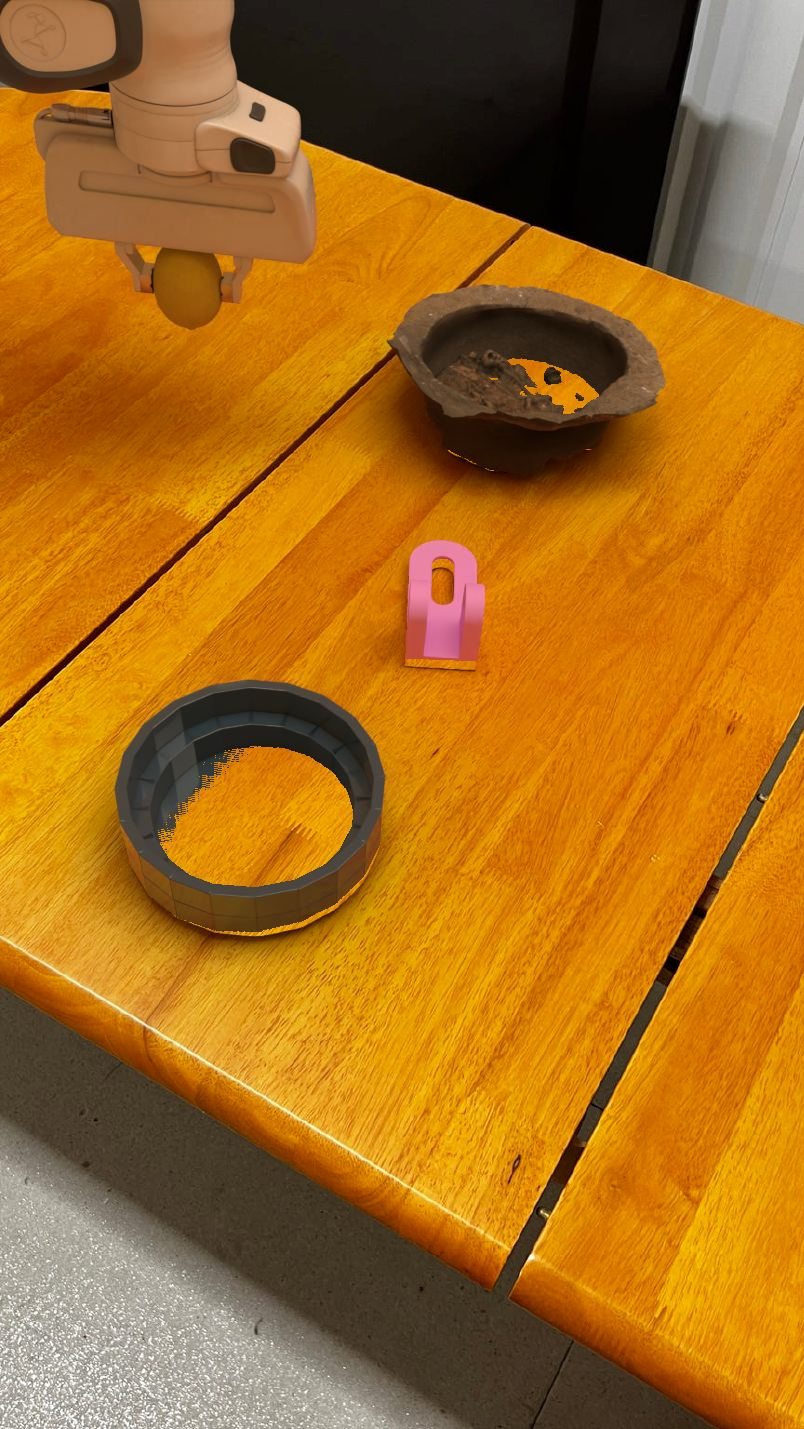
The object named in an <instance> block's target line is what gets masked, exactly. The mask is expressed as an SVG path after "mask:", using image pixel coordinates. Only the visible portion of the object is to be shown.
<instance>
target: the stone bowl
mask: <svg viewBox="0 0 804 1429" xmlns="http://www.w3.org/2000/svg"><path fill="white" fill-rule="evenodd" d="M392 335H393V338H392V339H386V340H385V342H386V343H387V344H388V346H389V347H390V349H391V350H392V351H393V353H395V355H396V356H397V358H398V360H399V362H400V363H401V364H402V367H403V368H404V370H405V372H406V373H407V374H408V376H409V377H410V378H411V379H412V381H413V383H414V384H415V385H416V387H417V388H418V390H419V391H420V392H421V393H423V399H424V403H425V410H426V414H427V417H428V418H429V420H430V422H432V424H433V425H434V428H436V430H437V431H438V433H440V436H441V439H442V446H443V448H444V447H445V448H446V449H447V450H450V451H451V452H453V453H455V454H457V455H459V456H461V457H463V458H466V459H468V460H469V461H472V462H473V463H476V464H477V465H476V466H478V465H479V466H480V467H479V466H478V467H479V468H481V467H483V468H487V469H489V470H494V471H496V472H502V471H503V472H505V473H509V474H513V475H521V476H525V475H530V474H536V473H539V472H541V471H542V469H543V468H544V466H545V464H546V463H547V462H548V461H549V460H556V461H567V460H569V459H570V458H572V457H573V456H577V455H579V454H581V453H582V452H584V451H586V450H585V449H593V450H595V449H596V448H597V447H598V446H600V444H601V442H602V441H603V438H604V436H605V434H606V433H607V430H608V428H609V426H610V424H611V421H612V420H615V419H622V418H624V417H627V416H630V415H633V414H637V413H640V412H641V411H644V410H646V409H649V408H651V407H653V406H655V405H657V404H658V403H659V402H658V401H657V400H656V399H657V398H658V397H660V394H658V393H659V392H660V391H661V390H663V389H665V387H666V378H665V375H664V371H663V370H664V369H663V368H662V366H663V365H662V364H661V363H660V361H659V357H658V349H657V348H656V347H655V346H654V345H653V343H652V342H651V340H649V339H647V337H646V335H645V334H644V333H643V331H641V330H640V329H638V328H637V326H636V324H634V323H633V322H632V321H631V320H628V319H626V318H623V317H621V316H619V315H615V314H614V313H613V311H610V310H608V309H606V308H604V307H602V306H599V305H597V304H594V303H590V302H588V301H585V300H584V299H581V298H577V297H571V296H570V295H567V294H563V293H560V292H556V291H553V290H550V289H545V288H541V287H537V286H530V285H529V286H518V287H515V286H513V287H509V286H508V285H507V284H498V285H495V284H485V283H482V284H479V285H472V286H467V287H461V288H457V289H454V290H453V291H448V292H442V293H441V292H440V293H432V294H430V295H428V296H427V297H425V298H423V299H421V300H419V302H416V303H415V304H414V305H412V306H410V308H408V309H407V311H406V312H405V313H404V316H403V320H402V321H401V322H400V323H399V324H398V326H397V327H396V330H395V332H393V333H392ZM512 358H515V359H521V358H522V359H527V360H534V361H539V362H546V363H547V364H549V365H553V366H556V367H559V368H562V369H563V370H567V371H569V372H570V373H572V374H577V375H578V376H580V377H581V378H583V379H584V380H585V381H586V383H588V384H589V385H590V386H591V387H592V388H594V389H595V391H596V392H597V393H598V394H599V397H597V398H596V399H593V400H591V401H590V402H588V403H587V404H586V405H585V406H584V407H583V408H577V409H575V410H574V412H575V413H571V414H563V411H564V408H563V407H564V406H563V405H555V404H553V403H552V397H551V396H549V395H541V394H538V392H537V393H535V394H536V395H533V394H531V393H530V392H529V391H528V390H527V389H526V388H525V387H524V386H525V385H527V387H534V388H537V387H536V386H537V385H536V384H535V382H533V381H532V380H531V378H530V377H529V376H528V374H527V373H526V371H525V370H526V369H525V368H524V367H523V366H521V365H520V364H516V365H511V364H510V363H509V362H508V361H507V360H509V359H512ZM560 374H561V372H560V371H558V370H556V369H555V368H554V367H549V368H547V369H546V371H545V373H544V381H545V382H546V384H548V385H551V384H559V383H561V382H562V381H561V376H560ZM489 377H490V378H498V380H491V379H490V378H489ZM535 385H536V386H535ZM521 391H524V392H523V393H525V395H527V396H522V394H521V395H520V392H521ZM575 397H576V399H578V401H583V400H584V397H582V396H581V395H579V394H578V393H576V395H575ZM599 443H600V444H599ZM595 447H596V448H595ZM445 448H444V449H445ZM446 449H445V450H446ZM463 458H462V459H463ZM483 468H482V469H483Z"/></svg>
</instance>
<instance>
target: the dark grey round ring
mask: <svg viewBox="0 0 804 1429" xmlns="http://www.w3.org/2000/svg"><path fill="white" fill-rule="evenodd" d="M250 746H257V747H258V746H261V747H273V748H277V747H279V748H285V749H289V750H291V751H295V752H298V753H301V754H305V755H306V756H310V757H311V758H313V759H314V760H315V761H317V762H319V763H321V764H322V765H323V766H324V767H326V768H328V769H329V770H331V771H332V772H333V773H334V774H335V775H336V777H337V778H338V780H339V781H340V783H341V784H342V785H343V786H344V788H346V790H347V792H348V795H349V798H350V802H351V805H352V809H353V820H352V827H351V829H350V831H349V833H348V834H347V836H346V838H345V840H344V842H343V844H342V846H341V848H340V850H339V851H338V852H337V853H336V854H335V855H334V856H333V857H332V858H331V859H330V860H329V861H328V862H327V863H326V864H324V865H323V866H321V867H319V868H317V869H315V870H313V871H311V872H309V873H307V874H305V875H303V876H301V877H299V878H297V879H295V880H291V881H285V882H280V883H275V884H270V885H264V886H259V887H246V886H234V885H222V884H212V883H210V882H207V881H204V880H202V879H199V878H196V877H194V876H191V875H189V874H188V873H186V872H185V871H184V870H183V869H181V868H180V867H179V866H177V865H176V864H175V863H174V862H172V861H171V860H170V859H169V858H168V856H167V854H166V853H165V851H164V850H163V848H162V846H163V845H162V846H161V845H160V842H165V841H169V840H164V841H161V839H159V838H161V837H159V836H161V835H164V834H161V833H164V832H161V831H164V830H165V832H171V831H174V830H171V829H175V828H176V823H175V822H176V819H175V817H174V816H175V814H176V815H182V814H186V813H182V812H186V811H182V810H186V809H182V808H185V807H182V806H185V805H182V804H185V803H188V801H192V800H195V799H192V800H188V799H191V798H195V797H191V796H195V795H193V794H195V792H198V791H200V790H199V789H201V788H202V787H205V788H210V787H206V786H210V785H206V784H210V783H206V782H214V781H210V780H214V779H207V780H208V781H206V780H202V779H206V778H202V777H206V776H202V775H207V776H208V777H207V778H210V777H209V776H214V774H216V775H221V774H217V773H221V772H217V771H222V770H218V769H222V768H218V767H214V766H218V765H214V764H218V763H214V762H221V763H227V761H230V760H227V759H230V758H227V757H231V756H228V755H231V754H228V753H236V752H231V751H236V750H232V749H237V748H238V749H241V748H249V747H250ZM250 748H254V747H250ZM225 750H226V751H225ZM228 750H230V751H228ZM241 750H244V749H241ZM224 752H228V753H224ZM239 752H244V751H240V750H239ZM224 754H227V755H224ZM237 754H240V753H237ZM241 754H243V753H241ZM215 755H216V756H215ZM232 755H235V754H232ZM247 755H248V754H247ZM223 756H225V757H223ZM235 756H239V755H235ZM235 756H234V758H239V757H235ZM242 756H243V755H242ZM215 757H216V758H215ZM219 758H220V759H219ZM223 758H224V759H223ZM232 760H235V759H232ZM236 760H239V759H236ZM204 762H205V763H204ZM231 762H234V761H231ZM236 762H239V761H236ZM211 763H212V764H211ZM203 764H204V765H203ZM220 765H222V764H220ZM223 765H226V764H223ZM228 766H229V765H228ZM219 767H222V766H219ZM223 767H224V766H223ZM214 768H218V769H214ZM227 768H229V767H227ZM214 770H217V771H214ZM214 772H216V773H214ZM225 772H226V771H225ZM225 774H226V773H225ZM199 776H200V777H199ZM216 777H217V776H216ZM211 778H214V777H211ZM202 781H206V782H202ZM202 783H206V784H202ZM202 785H206V786H202ZM213 787H214V786H213ZM195 788H198V789H195ZM385 789H386V773H385V770H384V767H383V763H382V760H381V756H380V753H379V750H378V746H377V744H376V742H375V741H374V740H373V739H372V737H371V736H370V735H369V733H368V732H367V730H366V729H365V728H364V727H363V725H362V724H361V723H360V721H359V720H358V718H357V717H356V716H355V715H353V713H350V712H349V711H348V710H346V709H345V708H343V707H342V706H340V705H339V704H337V703H336V702H335V701H333V700H332V699H331V698H329V697H327V696H325V695H324V694H321V693H319V692H315V691H313V690H310V689H307V688H304V687H301V686H299V685H296V684H292V683H290V682H283V681H271V680H261V679H241V680H236V681H228V682H221V683H215V684H210V685H207V686H205V687H202V688H200V689H198V690H196V691H193V692H191V693H188V694H186V695H183V696H181V697H178V698H176V699H174V700H172V701H171V702H170V703H168V704H167V705H166V706H164V707H163V708H162V709H160V710H159V711H158V712H157V713H155V714H154V715H153V716H151V717H150V718H149V719H147V720H146V721H145V722H144V723H143V724H142V725H141V726H140V728H139V729H138V731H137V732H136V734H135V736H133V738H132V740H131V741H130V742H129V744H128V745H127V746H126V749H125V750H124V752H122V756H121V760H120V764H119V768H118V772H117V776H116V780H115V782H114V790H113V791H114V795H115V796H114V797H115V802H116V809H117V816H118V822H119V823H118V824H119V826H120V831H121V835H122V838H123V842H124V848H125V850H126V854H127V858H128V864H129V866H130V867H131V869H132V871H133V872H134V874H135V876H136V878H137V879H138V881H139V882H140V884H141V886H142V888H143V890H144V891H145V893H146V895H148V897H149V898H151V899H152V898H153V899H154V900H153V899H152V900H153V901H154V902H156V901H157V902H158V903H159V904H158V903H157V902H156V903H157V904H158V905H159V906H161V905H162V906H163V907H164V908H165V909H164V908H163V907H162V906H161V907H162V908H163V909H164V910H166V909H167V910H168V911H169V912H171V913H172V914H173V915H175V916H176V917H178V918H179V919H182V920H186V921H187V922H192V923H194V924H197V925H200V926H202V927H205V928H209V929H211V930H214V931H215V930H216V931H222V932H224V931H233V932H237V931H239V932H244V931H245V932H262V931H263V930H267V929H269V930H270V929H272V928H276V927H280V926H284V925H290V924H293V923H297V922H298V923H299V922H302V921H304V920H306V919H308V918H309V917H311V916H313V915H315V914H316V913H318V912H321V911H323V910H325V909H328V908H329V907H331V906H333V905H335V904H336V903H338V901H339V900H340V899H342V897H343V896H345V895H346V894H347V893H348V892H349V891H350V889H352V888H353V887H354V886H355V885H356V884H357V883H358V882H359V881H360V880H361V879H362V878H363V877H364V875H365V874H366V872H367V870H368V868H369V866H370V864H371V862H372V860H373V858H374V856H375V854H376V852H377V850H378V848H379V846H380V847H381V841H382V830H383V819H384V818H383V817H384V804H385V803H384V802H385ZM195 790H198V791H195ZM205 790H206V789H205ZM198 793H199V792H198ZM198 795H199V794H198ZM188 797H191V798H188ZM198 797H199V796H198ZM198 799H199V798H198ZM182 802H185V803H182ZM192 802H195V801H192ZM178 803H179V804H178ZM178 805H180V806H178ZM186 805H188V804H186ZM178 807H180V808H178ZM186 807H188V806H186ZM178 809H181V810H178ZM187 809H188V808H187ZM178 811H181V812H178ZM187 812H188V810H187ZM179 813H182V814H179ZM169 815H170V816H169ZM169 817H171V818H169ZM176 817H179V816H176ZM382 818H383V819H382ZM177 819H179V818H177ZM178 821H179V820H178ZM166 822H167V823H166ZM166 824H167V825H166ZM174 827H175V828H174ZM167 828H168V829H167ZM161 829H164V830H161ZM381 829H382V830H381ZM158 830H159V831H158ZM167 830H170V831H167ZM158 832H160V833H158ZM171 833H174V832H171ZM171 833H170V834H171ZM158 834H161V835H158ZM166 834H168V833H166ZM173 835H174V834H173ZM168 836H171V835H167V836H165V837H168ZM162 837H164V836H162ZM168 838H172V837H168ZM163 839H165V838H163ZM170 840H172V839H170ZM380 840H381V841H380ZM171 842H172V841H171ZM161 844H162V843H161ZM165 850H167V849H165ZM166 852H167V851H166ZM167 910H166V911H167ZM168 911H167V912H168ZM169 912H168V913H169ZM171 913H170V914H171ZM172 914H171V915H172ZM173 915H172V916H173ZM176 917H175V918H176ZM179 919H178V920H179ZM187 922H186V923H187Z"/></svg>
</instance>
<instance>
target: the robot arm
mask: <svg viewBox="0 0 804 1429" xmlns="http://www.w3.org/2000/svg"><path fill="white" fill-rule="evenodd" d="M234 17H235V0H0V83H1V84H3V85H5V86H7V87H9V88H11V89H14V90H16V91H21V92H24V93H28V94H37V95H38V94H39V95H45V94H57V93H63V92H68V91H69V92H70V91H75V90H80V89H85V88H89V87H90V88H91V87H95V86H99V85H104V84H107V83H108V87H109V97H110V106H111V108H107V107H97V106H75V105H71V104H69V103H66V102H53V103H51V104H50V107H47V108H43V109H41V110H39V111H38V113H37V114H36V115H35V116H34V119H33V123H32V125H33V126H32V128H33V134H34V140H35V146H36V149H37V152H38V154H39V156H40V157H41V159H42V160H43V161H44V197H45V210H46V217H47V218H46V219H47V221H48V223H49V224H50V226H52V228H53V229H54V230H55V231H56V232H57V233H58V234H59V235H60V236H64V237H69V238H70V237H71V238H79V239H86V240H87V239H89V240H95V241H96V240H97V241H105V242H113V243H114V244H113V245H114V251H115V254H116V255H117V257H118V258H119V260H120V261H121V262H122V263H123V265H124V266H125V267H126V269H127V270H128V271H129V273H130V274H132V281H133V291H134V292H135V293H142V294H151V295H155V294H154V289H153V271H154V265H155V262H153V263H152V262H146V261H145V260H144V257H143V256H142V255H141V253H140V252H139V250H138V249H137V247H136V246H137V245H139V246H145V247H147V246H148V247H154V248H170V249H179V250H187V251H195V252H204V253H212V254H214V255H220V256H221V255H222V256H230V257H233V258H232V260H233V266H234V267H235V269H234V271H232V272H231V271H223V273H222V280H221V284H220V287H221V293H222V295H221V301H222V303H230V304H236V305H240V304H241V302H242V296H243V282H244V281H245V280H246V279H247V276H248V275H249V274H250V272H251V271H252V269H253V265H254V260H255V259H256V260H263V261H272V262H281V263H289V264H295V265H302V264H304V263H306V262H307V261H308V260H309V259H310V258H311V256H312V255H313V254H314V252H315V248H316V244H317V236H318V211H317V198H316V197H317V196H316V189H315V182H314V176H313V171H312V167H311V164H310V161H309V158H308V157H307V155H306V154H305V152H303V150H302V149H301V148H300V145H301V139H302V138H301V137H302V120H301V114H300V112H299V111H298V110H297V109H296V108H295V107H293V106H292V105H290V104H288V103H286V102H284V101H281V100H279V99H277V98H275V97H272V96H270V95H268V94H266V93H264V92H262V91H259V90H257V89H255V88H253V87H251V86H250V85H247V84H246V83H243V82H242V81H240V80H238V73H237V72H238V71H237V66H236V63H235V60H234V55H233V53H232V49H231V30H232V25H233V21H234V19H235V18H234Z"/></svg>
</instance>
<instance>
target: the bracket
mask: <svg viewBox="0 0 804 1429" xmlns="http://www.w3.org/2000/svg"><path fill="white" fill-rule="evenodd" d="M437 559H448V560H450V561H451V562H453V564H454V600H453V599H452V601H451V602H450V603H447V604H440V603H436V602H435V601H434V600H433V598H432V582H433V580H432V579H433V578H432V576H433V571H432V563H433V562H434V561H435V560H437ZM408 576H409V584H408V583H407V599H408V607H407V606H406V623H407V630H406V629H405V646H406V653H405V652H404V660H405V659H429V660H455V661H477V662H478V656H479V651H480V643H481V637H482V630H483V625H484V624H483V623H484V615H485V601H486V600H485V599H486V598H485V597H486V594H485V593H486V588H485V584H484V583H478V564H477V560H476V557H475V556H474V554H473V553H472V552H471V551H470V549H468V548H466V547H465V546H464V545H462V544H460V543H457V542H454V541H450V540H444V539H443V540H441V539H437V540H430V541H427V542H424V543H422V544H420V545H419V546H417V547H416V548H415V549H414V550H413V552H412V553H411V555H410V556H409V564H408Z"/></svg>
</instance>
